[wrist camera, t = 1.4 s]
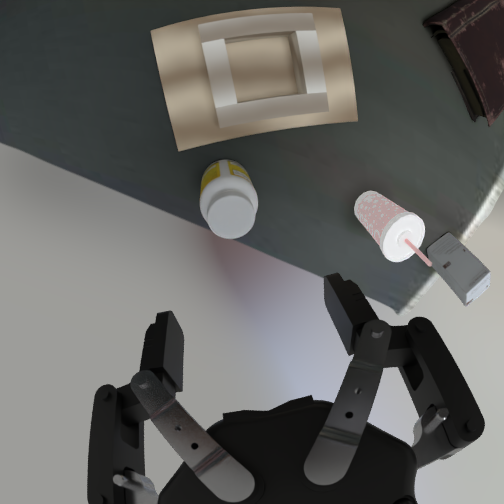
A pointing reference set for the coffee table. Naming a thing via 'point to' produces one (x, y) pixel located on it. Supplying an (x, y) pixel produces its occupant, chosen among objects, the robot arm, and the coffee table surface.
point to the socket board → (254, 73)
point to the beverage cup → (391, 226)
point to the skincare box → (459, 268)
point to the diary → (475, 53)
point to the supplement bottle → (228, 199)
